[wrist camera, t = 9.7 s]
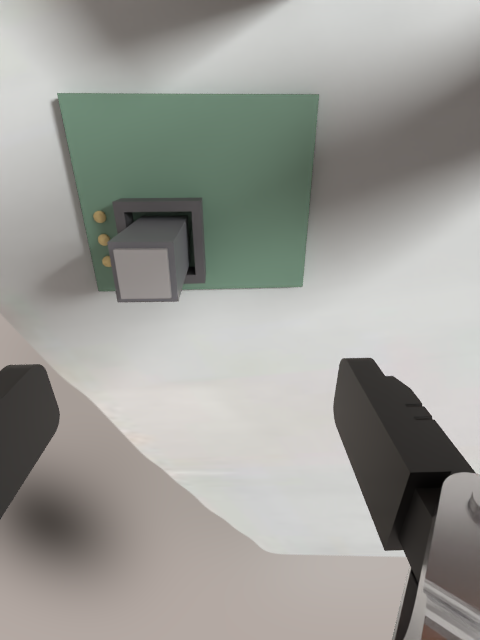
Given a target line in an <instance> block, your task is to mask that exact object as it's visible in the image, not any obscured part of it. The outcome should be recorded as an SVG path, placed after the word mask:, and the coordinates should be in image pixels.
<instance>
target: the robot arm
mask: <svg viewBox="0 0 480 640" xmlns="http://www.w3.org/2000/svg"><path fill="white" fill-rule="evenodd" d="M333 409H334V419H335V423H336V427H337V429H338V432H339V434H340V437H341V440H342V442H343V445H344V447H345V450H346V452H347V455H348V458H349V460H350V463H351V465H352V468H353V470H354V473H355V476H356V478H357V481H358V483H359V486H360V488H361V491H362V494H363V496H364V499H365V501H366V504H367V506H368V509H369V512H370V514H371V517H372V519H373V522H374V524H375V527H376V530H377V532H378V535H379V537H380V540H381V542H382V545H383V548H384V550H385V551H388V550H404V552H405V555H406V557H407V559H408V561H409V564H410V568H409V570H408V573H407V578H406V582H405V586H404V590H403V594H402V599H401V603H400V607H399V612H398V616H397V620H396V624H395V629H394V633H393V638H392V640H480V474H476V473H475V472H474V470H473V469H472V468H471V466H470V465H469V464H468V463H467V461H466V460H465V459H464V457H463V456H462V455H461V453H460V452H459V451H458V450H457V448H456V447H455V446H454V444H453V443H452V442H451V440H450V439H449V438H448V437H447V435H446V434H445V433H444V431H443V430H442V429H441V427H440V426H439V425H438V424H437V422H436V421H435V420H432V416H431V415H430V413H429V412H428V411H427V409H426V408H425V407H422V403H421V402H420V400H419V399H418V398H417V396H416V395H415V394H414V392H413V391H412V390H411V389H410V388H409V387H408V386H406V385H405V384H403V383H402V382H401V381H399V380H398V379H396V378H395V377H393V376H385V375H384V374H383V372H382V371H381V370H380V368H379V367H378V365H377V364H376V362H375V361H374V360H373V359H372V358H344V359H342V360H341V362H340V365H339V371H338V378H337V384H336V391H335V397H334V406H333ZM59 416H60V414H59V408H58V405H57V402H56V399H55V396H54V393H53V390H52V387H51V384H50V381H49V378H48V375H47V372H46V370H45V368H44V367H43V366H42V365H38V364H33V365H8V366H6V367H5V368H3V369H2V370H1V371H0V519H1V517H2V515H3V514H4V512H5V511H6V509H7V508H8V506H9V505H10V503H11V501H12V500H13V498H14V497H15V495H16V494H17V492H18V490H19V489H20V487H21V486H22V484H23V483H24V481H25V479H26V478H27V476H28V474H29V473H30V471H31V470H32V468H33V467H34V465H35V464H36V462H37V461H38V459H39V457H40V456H41V454H42V453H43V451H44V450H45V448H46V446H47V445H48V443H49V442H50V440H51V438H52V437H53V435H54V434H55V432H56V430H57V427H58V424H59Z"/></svg>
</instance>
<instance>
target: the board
mask: <svg viewBox="0 0 480 640" xmlns="http://www.w3.org/2000/svg"><path fill="white" fill-rule="evenodd" d="M57 95H58V100H59V105H60V109H61V114H62V119H63V124H64V128H65V133H66V138H67V143H68V147H69V152H70V157H71V162H72V166H73V171H74V176H75V181H76V185H77V190H78V195H79V200H80V204H81V209H82V214H83V219H84V224H85V228H86V233H87V238H88V243H89V247H90V252H91V257H92V262H93V266H94V271H95V276H96V281H97V285H98V290H99V291H116V290H115V284H114V278H113V272H112V267H111V261H110V255H109V249H108V243H107V242H108V241H109V240H111V239H112V238H113V237H115V236H116V235H117V234H119V233H120V232H121V231H123V230H124V229H125V228H127V227H128V226H129V225H131V224H132V223H133V222H135V221H136V220H137V219H139V218H140V217H141V216H188V223H189V240H190V256H191V260H190V264H189V267H188V271H187V274H186V277H185V281H184V284H183V287H182V290H184V289H230V288H275V287H302V286H303V274H304V262H305V251H306V239H307V228H308V216H309V205H310V193H311V182H312V170H313V158H314V147H315V135H316V124H317V112H318V101H319V94H105V93H57Z"/></svg>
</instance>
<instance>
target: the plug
mask: <svg viewBox="0 0 480 640" xmlns="http://www.w3.org/2000/svg"><path fill="white" fill-rule="evenodd" d="M107 243H108V249H109V255H110V261H111V267H112V272H113V278H114V284H115V290H116V295H117V301H118V302H174V301H179V297H180V294H181V291H182V287H183V284H184V281H185V277H186V274H187V271H188V267H189V264H190V260H191V256H190V240H189V223H188V216H141V217H140V218H139V219H137V220H136V221H135V222H133V223H132V224H131V225H129V226H128V227H127V228H125V229H124V230H123V231H121V232H120V233H119V234H117V235H116V236H115V237H113V238H112V239H111V240H109V241H108V242H107Z"/></svg>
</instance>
